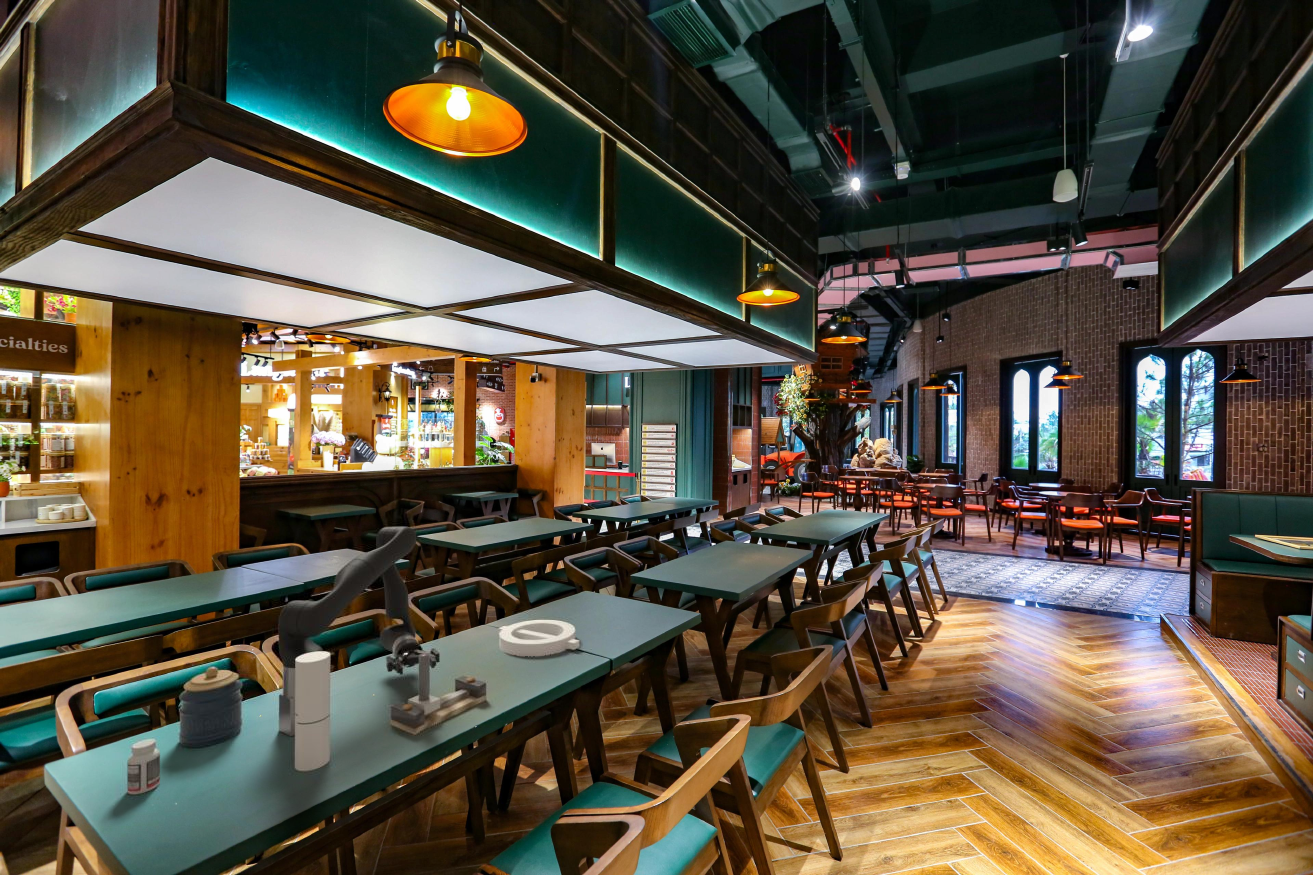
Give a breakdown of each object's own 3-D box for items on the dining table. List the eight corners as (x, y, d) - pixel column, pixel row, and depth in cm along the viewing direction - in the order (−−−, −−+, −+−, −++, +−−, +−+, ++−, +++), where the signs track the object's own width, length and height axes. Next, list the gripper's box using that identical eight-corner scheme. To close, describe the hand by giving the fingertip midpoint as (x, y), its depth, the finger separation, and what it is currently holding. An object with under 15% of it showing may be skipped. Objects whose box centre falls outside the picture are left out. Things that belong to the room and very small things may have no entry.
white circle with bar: (497, 635, 229) (497, 623, 229) (568, 628, 238) (568, 617, 238) (501, 661, 202) (501, 647, 203) (581, 652, 211) (581, 639, 211)
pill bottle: (157, 777, 131) (158, 734, 132) (161, 787, 128) (161, 742, 128) (125, 788, 128) (126, 743, 128) (128, 798, 124) (128, 752, 124)
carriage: (424, 714, 155) (424, 660, 155) (407, 708, 159) (408, 655, 159) (440, 707, 160) (440, 654, 160) (423, 701, 163) (423, 649, 163)
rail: (414, 734, 151) (414, 712, 151) (390, 724, 156) (391, 703, 156) (486, 699, 171) (486, 680, 171) (463, 691, 177) (463, 673, 177)
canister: (252, 721, 158) (252, 656, 158) (224, 746, 145) (225, 675, 145) (199, 725, 156) (199, 659, 156) (166, 750, 143) (166, 678, 143)
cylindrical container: (322, 751, 143) (323, 649, 143) (334, 761, 138) (335, 655, 139) (290, 763, 137) (290, 657, 138) (301, 774, 133) (302, 664, 133)
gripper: (382, 642, 176) (390, 659, 162) (431, 634, 184) (443, 649, 170) (381, 667, 176) (390, 686, 162) (431, 657, 184) (443, 675, 170)
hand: (417, 667), depth 166 cm, fingers open, 8 cm apart
